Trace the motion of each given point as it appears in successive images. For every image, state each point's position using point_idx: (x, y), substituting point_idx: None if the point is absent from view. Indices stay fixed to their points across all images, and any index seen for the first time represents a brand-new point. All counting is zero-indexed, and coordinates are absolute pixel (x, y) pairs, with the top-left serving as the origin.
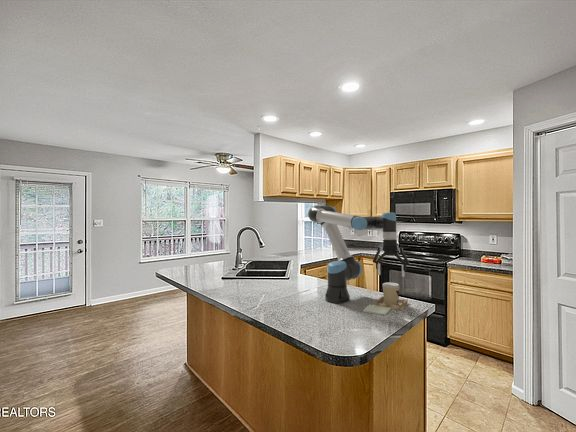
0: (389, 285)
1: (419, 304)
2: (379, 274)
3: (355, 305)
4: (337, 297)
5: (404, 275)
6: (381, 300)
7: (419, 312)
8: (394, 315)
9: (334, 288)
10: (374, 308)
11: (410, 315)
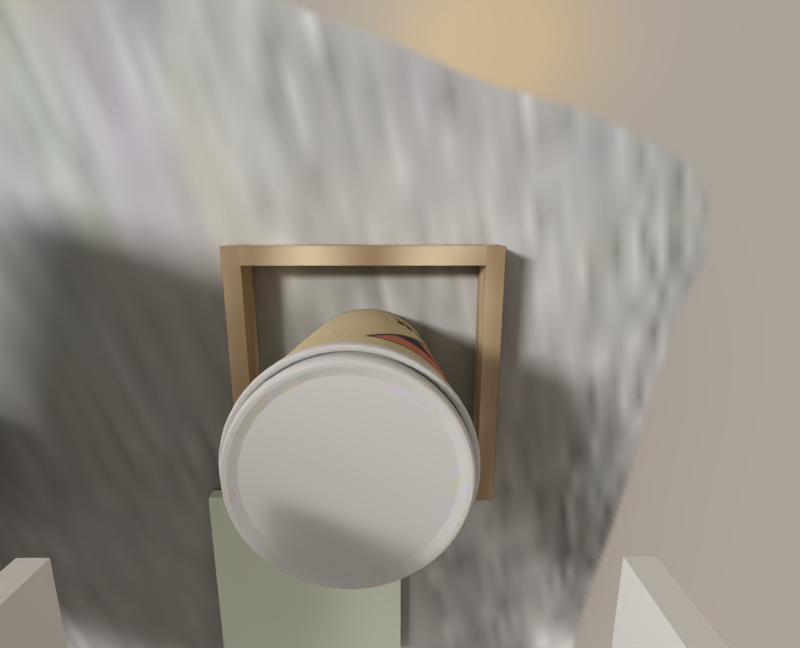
0: (352, 558)
1: (608, 227)
2: (56, 643)
3: (105, 537)
4: None
5: (667, 576)
6: (252, 318)
7: (620, 462)
8: (457, 611)
9: None
10: (286, 579)
11: (563, 559)
